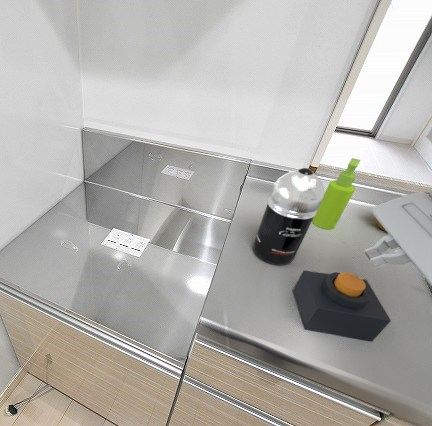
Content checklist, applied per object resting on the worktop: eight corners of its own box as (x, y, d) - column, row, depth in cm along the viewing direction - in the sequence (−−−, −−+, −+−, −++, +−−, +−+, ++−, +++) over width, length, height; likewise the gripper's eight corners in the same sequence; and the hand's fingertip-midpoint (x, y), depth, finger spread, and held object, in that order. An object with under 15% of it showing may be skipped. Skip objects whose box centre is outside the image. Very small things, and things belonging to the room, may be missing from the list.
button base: (351, 300, 65) (371, 272, 60) (372, 342, 57) (397, 314, 52) (292, 291, 67) (306, 263, 62) (304, 329, 60) (322, 301, 54)
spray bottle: (247, 239, 82) (274, 157, 68) (286, 242, 81) (322, 159, 66) (256, 265, 74) (289, 179, 59) (300, 269, 73) (344, 182, 58)
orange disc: (355, 281, 59) (359, 274, 57) (364, 299, 55) (370, 291, 54) (330, 277, 59) (334, 270, 58) (338, 294, 56) (343, 287, 55)
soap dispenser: (337, 221, 88) (370, 160, 76) (332, 232, 84) (366, 169, 72) (315, 213, 91) (344, 154, 80) (309, 223, 87) (338, 162, 76)
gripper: (423, 175, 52) (338, 213, 60) (524, 253, 36) (389, 291, 44) (438, 199, 54) (353, 233, 61) (540, 284, 38) (407, 315, 45)
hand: (368, 258), depth 52 cm, fingers closed
